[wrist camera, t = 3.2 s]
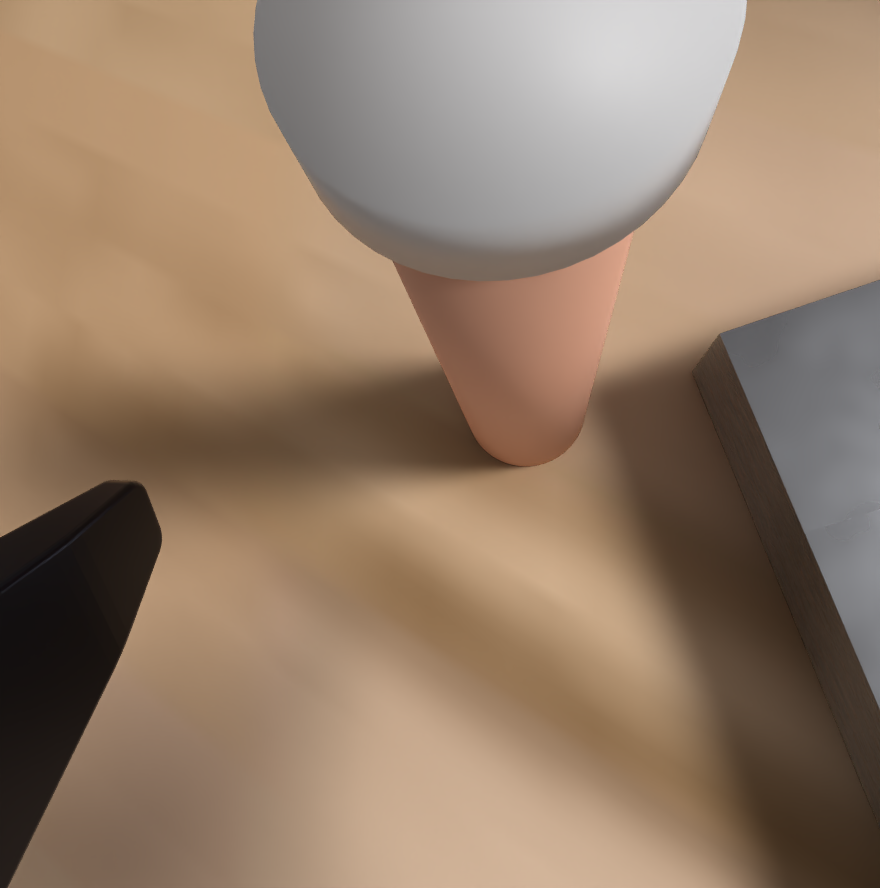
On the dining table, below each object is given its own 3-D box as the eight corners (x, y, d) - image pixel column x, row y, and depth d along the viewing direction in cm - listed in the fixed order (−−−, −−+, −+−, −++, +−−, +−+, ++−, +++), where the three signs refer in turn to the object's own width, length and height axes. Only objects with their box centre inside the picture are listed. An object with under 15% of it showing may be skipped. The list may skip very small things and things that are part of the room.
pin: (478, 500, 19) (321, 298, 5) (435, 366, 20) (208, -96, 6) (621, 453, 19) (834, 115, 5) (571, 319, 20) (638, -272, 6)
